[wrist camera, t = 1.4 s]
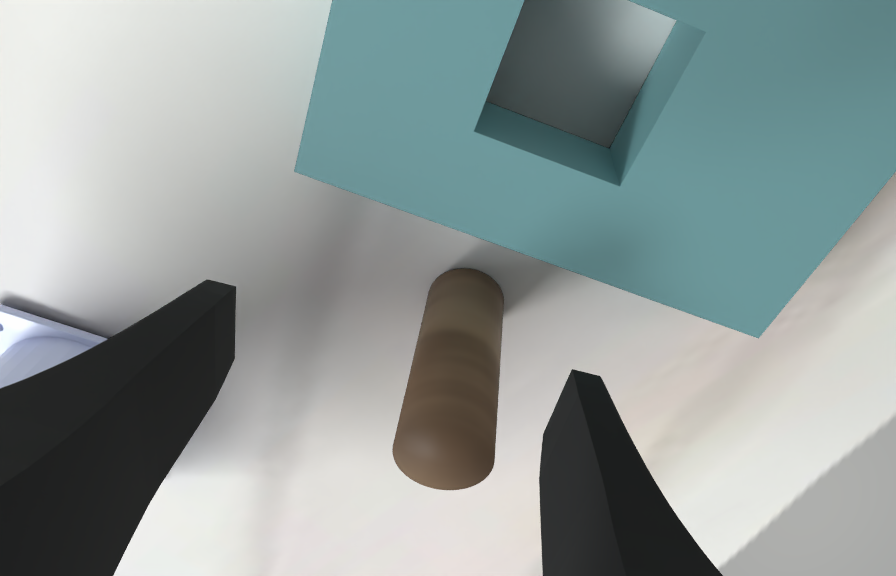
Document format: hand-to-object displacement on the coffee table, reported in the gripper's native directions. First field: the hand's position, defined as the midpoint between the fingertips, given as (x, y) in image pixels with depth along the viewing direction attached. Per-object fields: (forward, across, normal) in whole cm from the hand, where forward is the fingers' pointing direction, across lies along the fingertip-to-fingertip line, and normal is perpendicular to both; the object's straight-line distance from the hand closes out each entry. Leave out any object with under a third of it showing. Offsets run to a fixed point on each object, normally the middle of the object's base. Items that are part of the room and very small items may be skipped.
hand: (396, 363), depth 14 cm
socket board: (+11, -4, -4) cm, 12 cm away
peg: (+10, -2, +6) cm, 12 cm away
